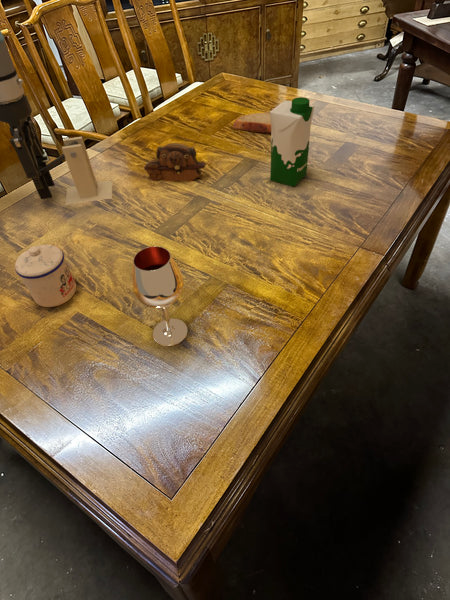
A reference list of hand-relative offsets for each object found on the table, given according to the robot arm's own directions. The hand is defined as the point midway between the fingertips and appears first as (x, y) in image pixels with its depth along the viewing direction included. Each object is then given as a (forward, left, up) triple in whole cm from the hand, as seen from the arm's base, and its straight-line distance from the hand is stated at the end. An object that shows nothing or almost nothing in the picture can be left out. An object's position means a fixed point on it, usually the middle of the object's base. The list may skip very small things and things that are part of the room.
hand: (47, 191), depth 107 cm
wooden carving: (+29, +17, -3) cm, 33 cm away
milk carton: (+57, +26, -3) cm, 62 cm away
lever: (+5, +3, +7) cm, 9 cm away
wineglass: (+49, -31, -3) cm, 58 cm away
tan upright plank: (+9, +5, -3) cm, 10 cm away
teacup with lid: (+21, -27, -3) cm, 34 cm away
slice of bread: (+44, +53, -3) cm, 69 cm away
